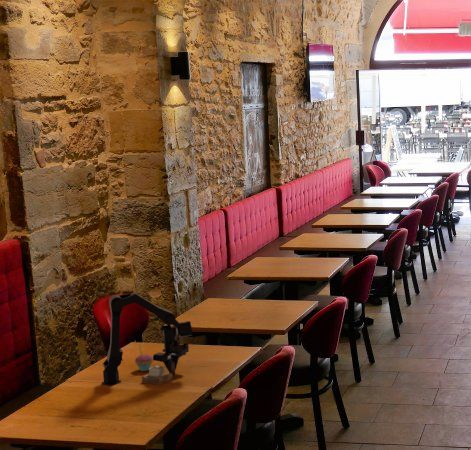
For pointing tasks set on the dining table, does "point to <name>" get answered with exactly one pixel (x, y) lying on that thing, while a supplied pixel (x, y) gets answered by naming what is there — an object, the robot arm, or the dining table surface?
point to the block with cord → (160, 371)
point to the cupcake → (143, 361)
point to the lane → (157, 381)
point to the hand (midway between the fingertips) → (172, 371)
